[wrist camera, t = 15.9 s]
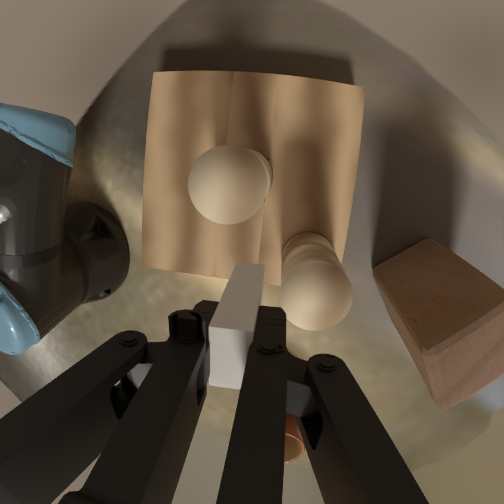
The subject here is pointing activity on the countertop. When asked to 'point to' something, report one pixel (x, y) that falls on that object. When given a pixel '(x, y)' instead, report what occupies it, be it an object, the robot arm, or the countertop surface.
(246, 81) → the seat board
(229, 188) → the peg
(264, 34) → the countertop surface
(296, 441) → the mug
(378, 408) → the countertop surface
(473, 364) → the block
